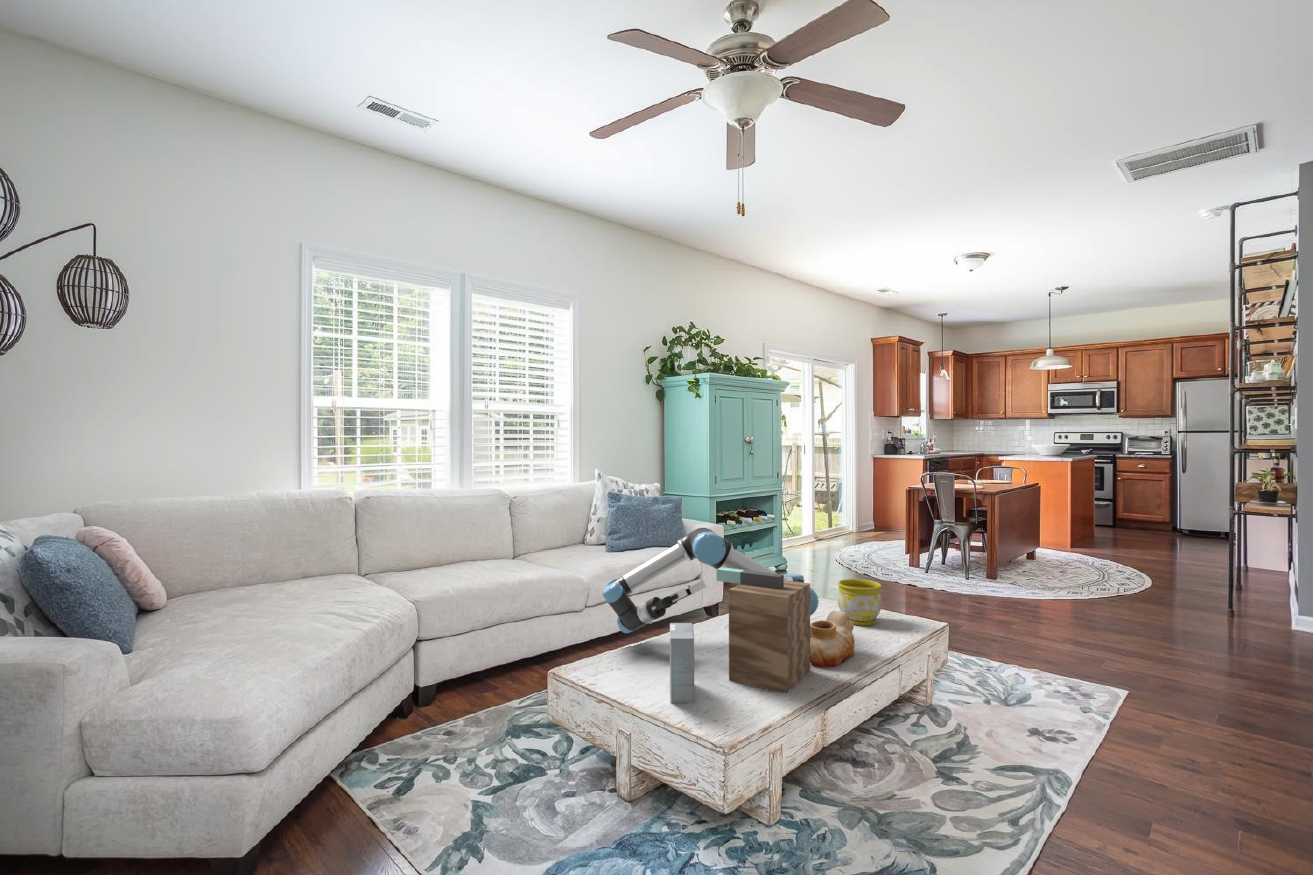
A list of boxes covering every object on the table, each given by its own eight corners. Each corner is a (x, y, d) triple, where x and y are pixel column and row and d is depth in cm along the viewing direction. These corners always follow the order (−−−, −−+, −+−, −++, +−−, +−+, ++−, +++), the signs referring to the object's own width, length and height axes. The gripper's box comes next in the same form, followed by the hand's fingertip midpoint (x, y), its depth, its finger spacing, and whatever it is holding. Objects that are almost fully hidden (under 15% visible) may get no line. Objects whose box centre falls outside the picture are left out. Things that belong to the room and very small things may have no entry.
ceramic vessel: (863, 651, 241) (863, 611, 241) (834, 672, 221) (834, 628, 221) (828, 644, 250) (828, 605, 250) (796, 663, 230) (796, 621, 230)
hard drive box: (670, 683, 212) (670, 622, 212) (693, 683, 212) (693, 622, 211) (669, 703, 196) (669, 637, 196) (695, 703, 196) (694, 637, 196)
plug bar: (716, 580, 226) (716, 569, 226) (721, 578, 230) (721, 567, 229) (779, 589, 214) (779, 576, 214) (783, 586, 217) (783, 574, 217)
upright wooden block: (755, 660, 233) (755, 576, 232) (810, 670, 222) (810, 583, 222) (728, 680, 214) (728, 589, 214) (787, 693, 203) (786, 597, 203)
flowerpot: (831, 616, 287) (831, 579, 287) (870, 614, 289) (870, 578, 289) (847, 628, 269) (847, 589, 269) (889, 626, 271) (889, 587, 271)
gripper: (673, 611, 252) (715, 589, 242) (637, 628, 231) (682, 605, 221) (665, 593, 254) (706, 571, 244) (628, 608, 233) (672, 584, 223)
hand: (695, 587), depth 232 cm, fingers open, 13 cm apart
